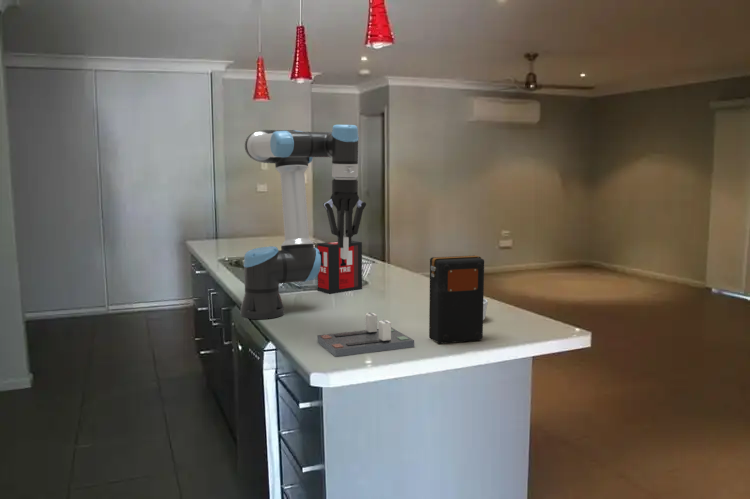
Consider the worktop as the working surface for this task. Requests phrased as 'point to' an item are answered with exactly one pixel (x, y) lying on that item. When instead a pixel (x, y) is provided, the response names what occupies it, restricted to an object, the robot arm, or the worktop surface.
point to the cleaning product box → (339, 268)
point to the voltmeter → (456, 298)
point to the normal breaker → (371, 322)
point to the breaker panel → (362, 342)
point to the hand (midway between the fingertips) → (344, 258)
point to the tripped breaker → (384, 330)
